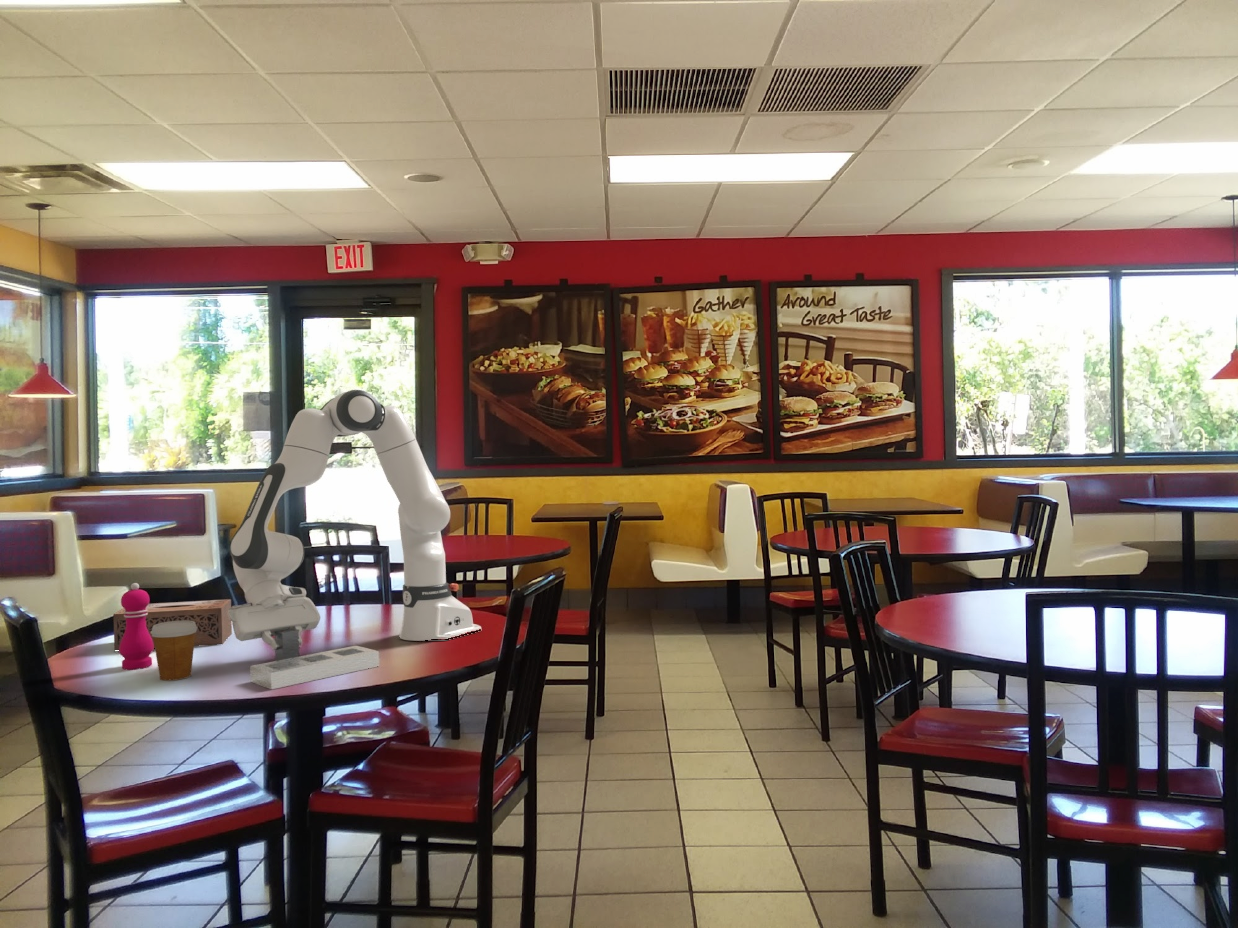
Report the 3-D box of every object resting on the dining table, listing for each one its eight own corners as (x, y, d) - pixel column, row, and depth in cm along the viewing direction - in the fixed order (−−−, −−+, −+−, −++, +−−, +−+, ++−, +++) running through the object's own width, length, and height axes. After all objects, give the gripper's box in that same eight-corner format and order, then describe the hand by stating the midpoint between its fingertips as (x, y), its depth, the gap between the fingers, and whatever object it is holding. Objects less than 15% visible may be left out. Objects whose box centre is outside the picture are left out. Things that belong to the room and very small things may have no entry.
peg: (291, 661, 214) (290, 628, 214) (299, 664, 211) (298, 630, 211) (275, 664, 211) (274, 631, 211) (283, 667, 208) (282, 633, 208)
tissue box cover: (231, 634, 250) (230, 599, 250) (222, 645, 236) (221, 607, 236) (130, 641, 243) (129, 604, 243) (114, 652, 229) (113, 614, 229)
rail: (356, 659, 215) (356, 645, 215) (379, 666, 208) (378, 651, 208) (250, 681, 196) (250, 665, 196) (271, 689, 189) (271, 672, 189)
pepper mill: (139, 670, 208) (137, 585, 208) (112, 669, 209) (110, 585, 209) (161, 663, 215) (158, 580, 215) (135, 662, 216) (132, 580, 216)
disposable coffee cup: (166, 671, 206) (164, 620, 206) (206, 671, 206) (205, 619, 206) (142, 682, 197) (141, 628, 197) (185, 682, 196) (183, 628, 196)
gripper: (229, 598, 208) (248, 645, 202) (310, 587, 223) (331, 631, 217) (221, 615, 211) (240, 662, 205) (302, 603, 226) (322, 647, 220)
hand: (288, 646), depth 211 cm, fingers closed on peg, 4 cm apart
